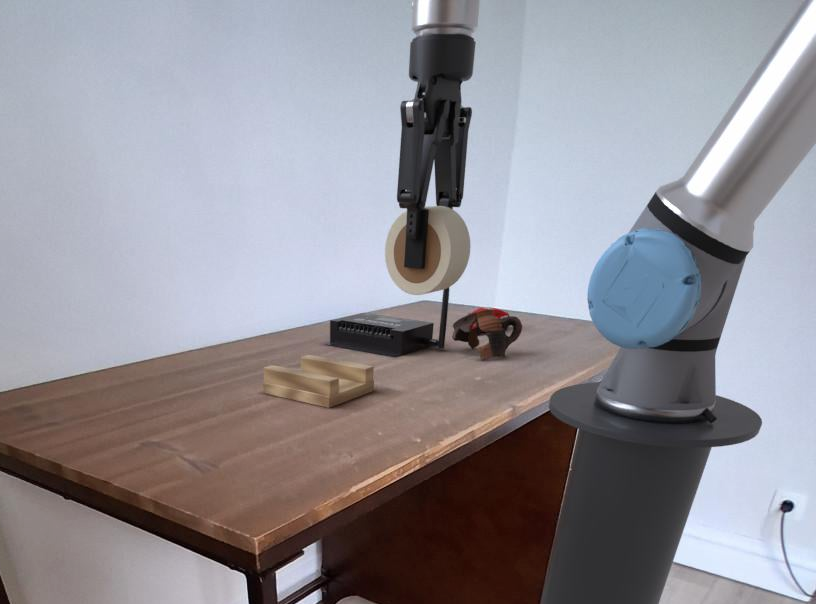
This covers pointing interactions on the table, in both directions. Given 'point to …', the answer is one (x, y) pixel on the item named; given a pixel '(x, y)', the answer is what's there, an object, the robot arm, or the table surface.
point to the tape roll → (430, 252)
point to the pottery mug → (487, 332)
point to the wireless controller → (387, 332)
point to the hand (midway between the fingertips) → (426, 265)
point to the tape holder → (319, 381)
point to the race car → (497, 313)
